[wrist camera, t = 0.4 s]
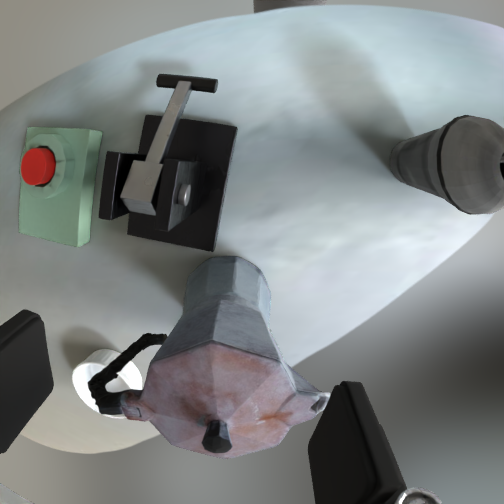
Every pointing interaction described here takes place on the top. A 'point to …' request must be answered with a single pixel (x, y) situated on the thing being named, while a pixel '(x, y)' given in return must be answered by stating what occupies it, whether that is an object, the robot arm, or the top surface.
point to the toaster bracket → (176, 184)
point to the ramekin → (124, 381)
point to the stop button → (38, 166)
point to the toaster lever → (161, 144)
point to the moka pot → (216, 370)
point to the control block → (61, 186)
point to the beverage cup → (456, 164)
